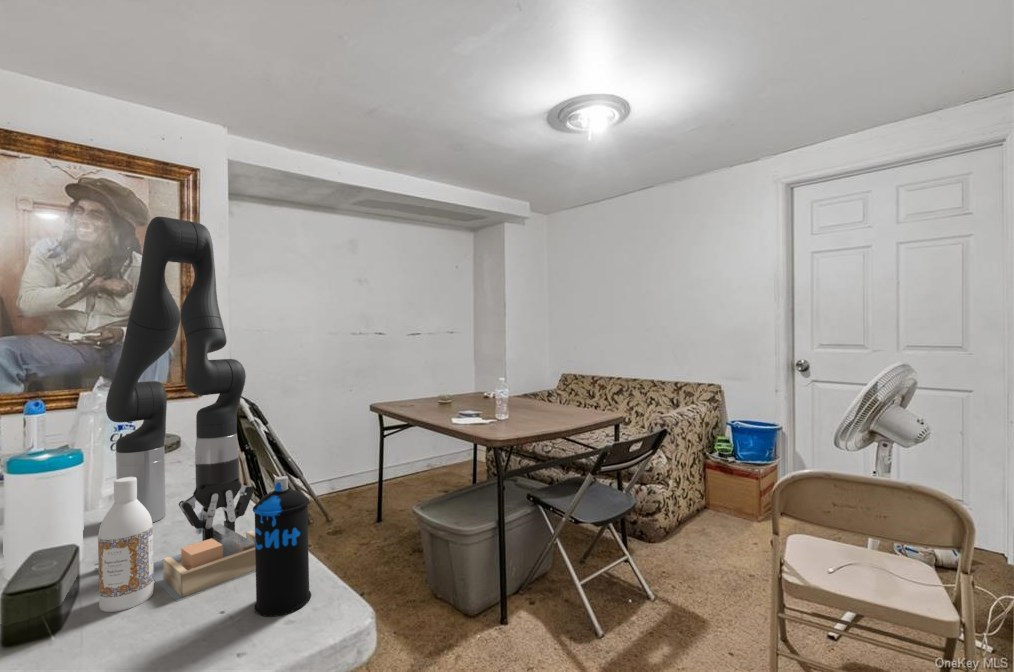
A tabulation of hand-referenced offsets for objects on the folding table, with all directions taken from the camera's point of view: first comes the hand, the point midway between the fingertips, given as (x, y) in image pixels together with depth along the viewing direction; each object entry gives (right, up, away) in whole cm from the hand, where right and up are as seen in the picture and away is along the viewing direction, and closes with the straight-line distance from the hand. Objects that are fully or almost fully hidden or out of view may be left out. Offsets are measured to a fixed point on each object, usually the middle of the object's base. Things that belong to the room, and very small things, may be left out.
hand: (218, 542), depth 96 cm
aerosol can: (+23, -1, -20) cm, 30 cm away
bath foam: (-4, -2, -19) cm, 19 cm away
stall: (+6, -1, -9) cm, 11 cm away
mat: (+3, -2, -6) cm, 7 cm away
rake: (+2, -1, -7) cm, 7 cm away
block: (+3, -1, -10) cm, 11 cm away
